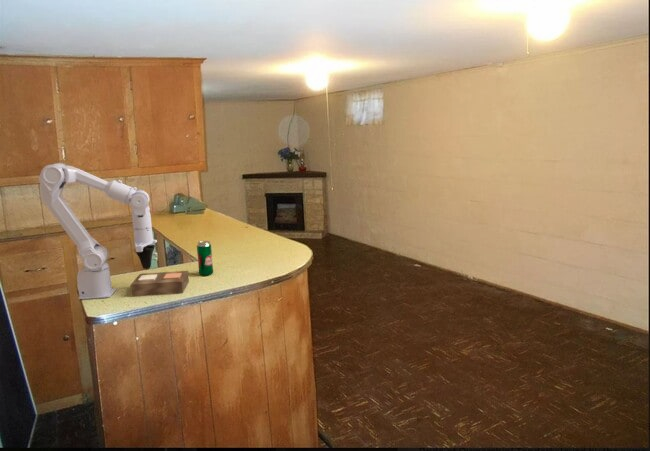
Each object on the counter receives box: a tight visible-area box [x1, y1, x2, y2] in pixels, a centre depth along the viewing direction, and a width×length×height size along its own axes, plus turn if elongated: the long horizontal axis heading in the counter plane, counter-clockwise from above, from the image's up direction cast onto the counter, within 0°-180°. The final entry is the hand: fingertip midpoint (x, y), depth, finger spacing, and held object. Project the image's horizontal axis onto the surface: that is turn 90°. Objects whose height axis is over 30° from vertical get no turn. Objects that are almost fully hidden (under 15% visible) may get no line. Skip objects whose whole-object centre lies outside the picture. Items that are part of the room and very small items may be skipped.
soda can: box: [196, 240, 214, 277], centre depth 181 cm, size 5×5×12 cm
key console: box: [130, 270, 190, 297], centre depth 166 cm, size 16×12×4 cm
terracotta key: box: [163, 273, 182, 280], centre depth 167 cm, size 5×5×2 cm
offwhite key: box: [138, 274, 157, 281], centre depth 166 cm, size 5×5×2 cm
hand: (146, 267), depth 165 cm, fingers closed
